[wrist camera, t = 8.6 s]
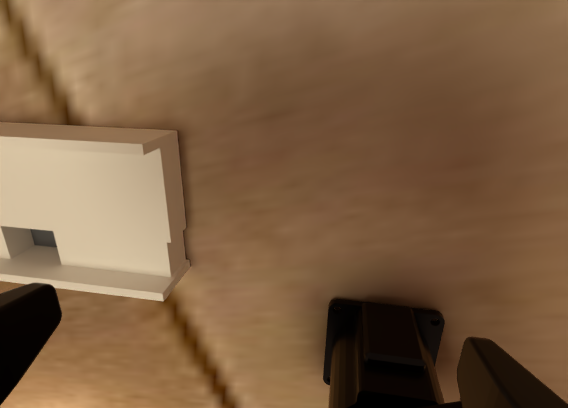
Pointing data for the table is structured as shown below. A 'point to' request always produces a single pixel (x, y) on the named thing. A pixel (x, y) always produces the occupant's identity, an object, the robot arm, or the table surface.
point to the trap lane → (92, 209)
